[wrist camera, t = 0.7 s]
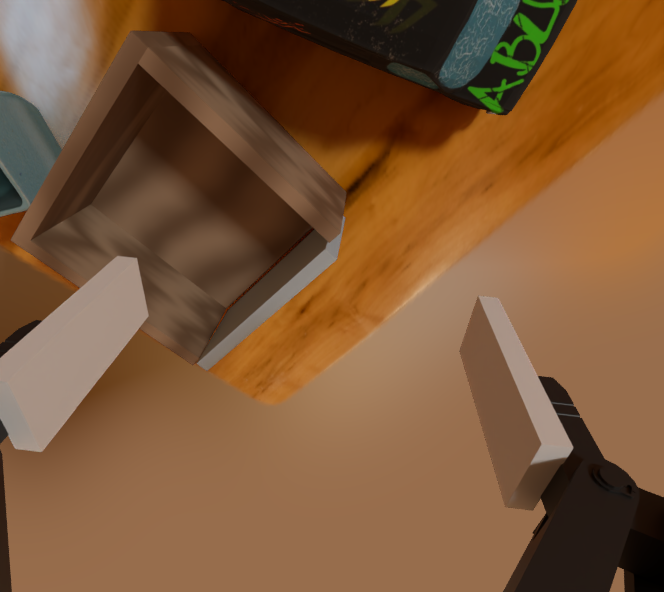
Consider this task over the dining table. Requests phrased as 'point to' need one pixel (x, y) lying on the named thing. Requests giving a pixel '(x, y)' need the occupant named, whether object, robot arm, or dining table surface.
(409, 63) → the toy van
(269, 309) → the panel
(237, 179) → the crate
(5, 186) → the flower pot
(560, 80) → the dining table surface
